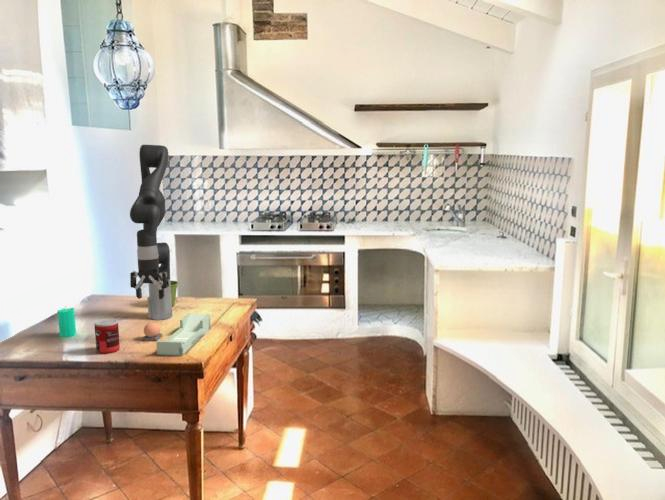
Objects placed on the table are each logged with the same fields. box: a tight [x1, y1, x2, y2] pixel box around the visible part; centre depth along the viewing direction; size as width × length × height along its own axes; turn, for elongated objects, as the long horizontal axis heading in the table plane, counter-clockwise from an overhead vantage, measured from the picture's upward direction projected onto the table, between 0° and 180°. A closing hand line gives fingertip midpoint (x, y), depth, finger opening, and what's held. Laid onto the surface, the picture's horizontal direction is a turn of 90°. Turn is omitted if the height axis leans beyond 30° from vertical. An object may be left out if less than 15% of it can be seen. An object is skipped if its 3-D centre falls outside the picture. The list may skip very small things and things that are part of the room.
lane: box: [155, 313, 211, 357], centre depth 202 cm, size 9×32×6 cm, turn 174°
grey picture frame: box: [142, 333, 163, 342], centre depth 205 cm, size 6×6×1 cm
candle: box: [57, 306, 77, 339], centre depth 208 cm, size 6×6×12 cm
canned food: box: [94, 318, 121, 355], centre depth 191 cm, size 8×8×11 cm
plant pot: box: [170, 279, 180, 307], centre depth 250 cm, size 12×12×11 cm
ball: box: [143, 321, 161, 337], centre depth 204 cm, size 6×6×6 cm
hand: (150, 298), depth 202 cm, fingers open, 8 cm apart
